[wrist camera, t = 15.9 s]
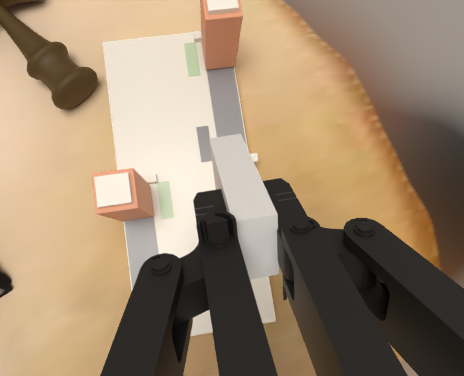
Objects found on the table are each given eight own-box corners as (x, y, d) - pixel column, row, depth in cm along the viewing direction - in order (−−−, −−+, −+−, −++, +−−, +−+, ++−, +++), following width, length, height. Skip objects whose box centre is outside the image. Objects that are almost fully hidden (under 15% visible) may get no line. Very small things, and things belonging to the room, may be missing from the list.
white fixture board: (134, 341, 38) (128, 349, 35) (100, 52, 42) (93, 38, 39) (279, 316, 39) (285, 321, 37) (233, 37, 43) (235, 23, 41)
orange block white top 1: (122, 221, 37) (93, 213, 28) (119, 190, 38) (89, 172, 28) (154, 216, 38) (136, 207, 28) (150, 185, 38) (131, 166, 29)
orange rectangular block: (205, 70, 40) (205, 15, 31) (201, 42, 40) (199, -20, 31) (234, 66, 40) (243, 11, 31) (230, 39, 41) (237, -24, 31)
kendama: (53, 135, 41) (-78, 2, 42) (122, 75, 43) (-5, -52, 43) (30, 116, 35) (-122, -38, 36) (111, 48, 37) (-36, -98, 37)
